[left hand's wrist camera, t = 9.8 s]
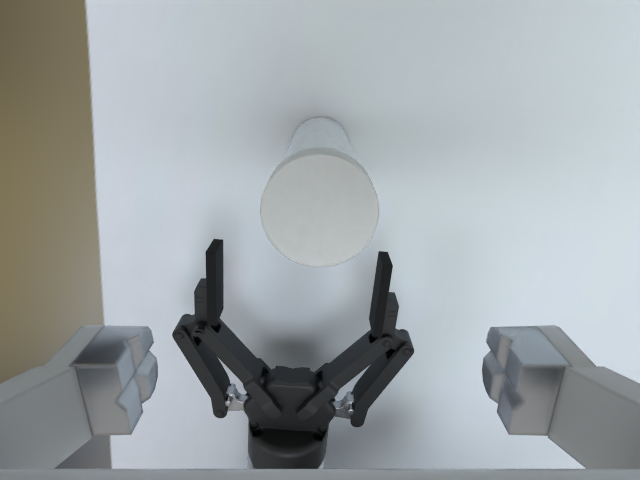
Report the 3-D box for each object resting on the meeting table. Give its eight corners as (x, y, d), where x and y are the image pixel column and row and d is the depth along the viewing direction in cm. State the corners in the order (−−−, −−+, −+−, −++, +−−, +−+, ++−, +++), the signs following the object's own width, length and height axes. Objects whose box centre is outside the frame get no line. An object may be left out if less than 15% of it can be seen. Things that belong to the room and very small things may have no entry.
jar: (303, 183, 39) (289, 271, 22) (282, 128, 37) (251, 179, 20) (356, 164, 38) (384, 240, 21) (338, 108, 36) (353, 143, 20)
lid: (288, 265, 23) (285, 281, 22) (248, 168, 22) (241, 178, 20) (387, 233, 23) (393, 247, 21) (355, 130, 21) (358, 136, 19)
